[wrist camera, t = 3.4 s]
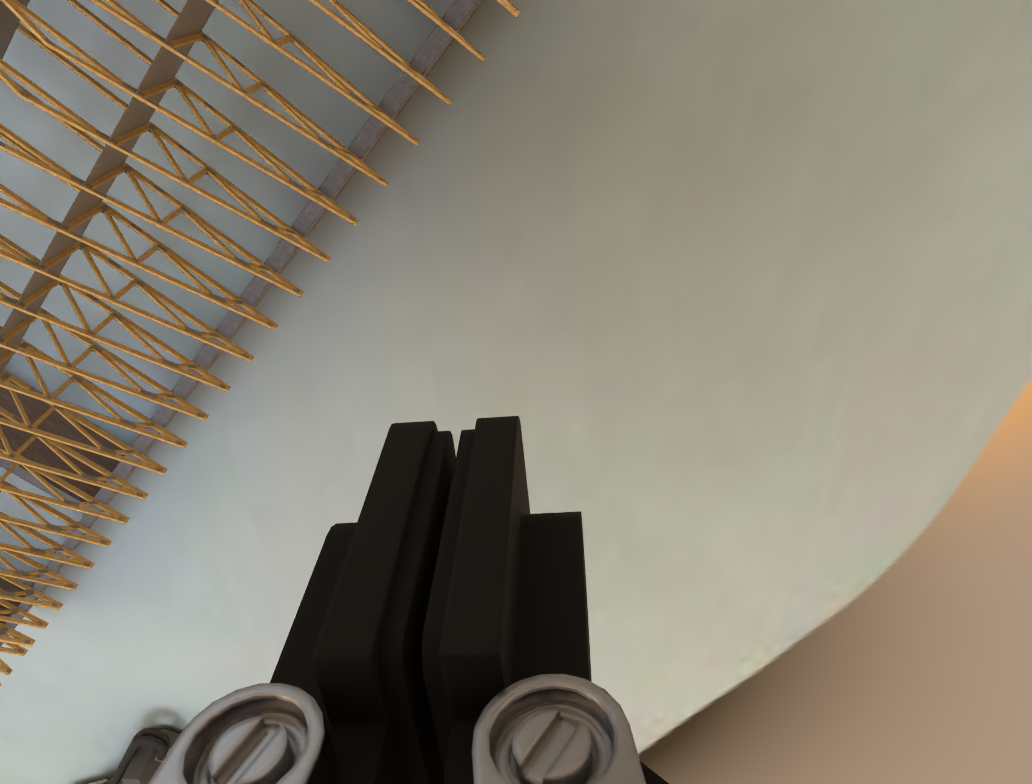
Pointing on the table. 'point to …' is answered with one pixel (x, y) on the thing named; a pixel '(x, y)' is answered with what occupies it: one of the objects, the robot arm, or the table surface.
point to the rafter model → (50, 422)
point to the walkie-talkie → (143, 757)
